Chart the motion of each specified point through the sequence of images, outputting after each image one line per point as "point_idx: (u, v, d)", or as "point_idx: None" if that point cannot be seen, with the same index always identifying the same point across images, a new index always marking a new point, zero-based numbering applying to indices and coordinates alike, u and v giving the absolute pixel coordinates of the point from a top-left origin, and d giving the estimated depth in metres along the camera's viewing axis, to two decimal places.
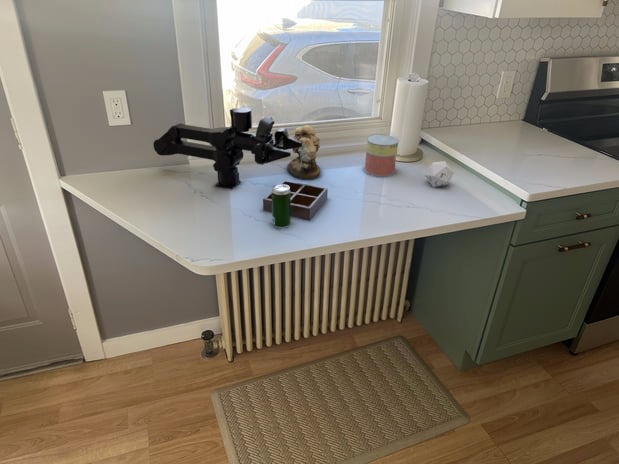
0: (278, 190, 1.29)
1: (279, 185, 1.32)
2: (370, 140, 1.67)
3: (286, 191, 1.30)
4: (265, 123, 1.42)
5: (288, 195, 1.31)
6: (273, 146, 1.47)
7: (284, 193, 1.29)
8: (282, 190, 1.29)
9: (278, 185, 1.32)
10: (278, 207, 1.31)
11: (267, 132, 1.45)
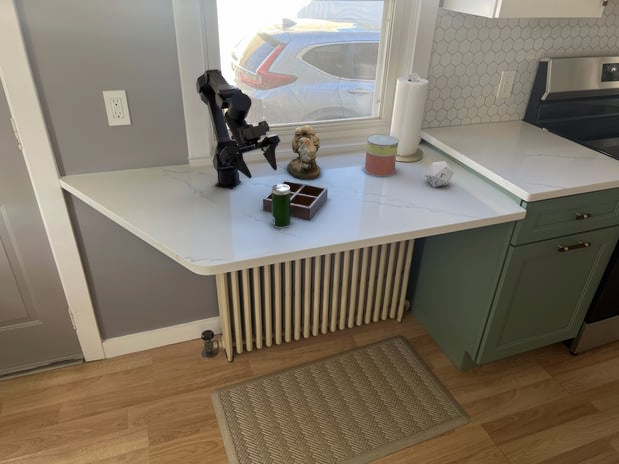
0: (278, 190, 1.29)
1: (279, 185, 1.32)
2: (370, 140, 1.67)
3: (286, 191, 1.30)
4: (253, 133, 1.29)
5: (288, 195, 1.31)
6: (250, 150, 1.36)
7: (284, 193, 1.29)
8: (282, 190, 1.29)
9: (278, 185, 1.32)
10: (278, 207, 1.31)
11: None
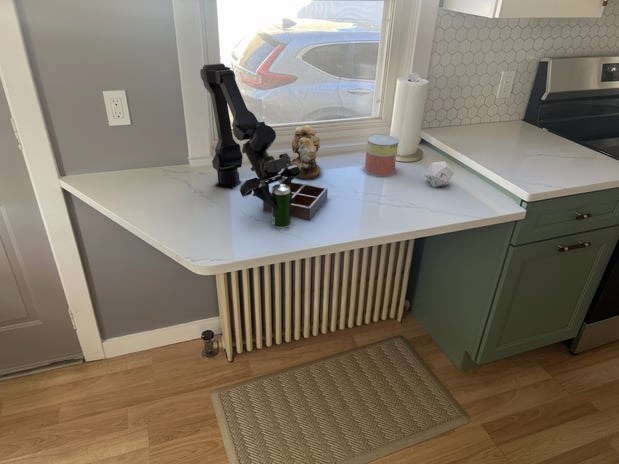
0: (278, 190, 1.29)
1: (279, 185, 1.32)
2: (370, 140, 1.67)
3: (286, 191, 1.30)
4: (274, 167, 1.26)
5: (288, 195, 1.31)
6: (266, 184, 1.32)
7: (284, 193, 1.29)
8: (282, 190, 1.29)
9: (278, 185, 1.32)
10: (278, 207, 1.31)
11: None
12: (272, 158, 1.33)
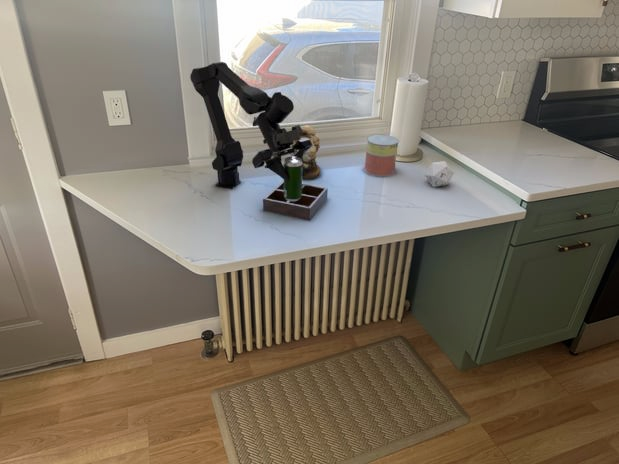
0: (290, 162, 1.30)
1: (291, 157, 1.33)
2: (370, 140, 1.67)
3: (298, 163, 1.30)
4: (287, 138, 1.27)
5: (300, 167, 1.31)
6: None
7: (296, 165, 1.30)
8: (294, 162, 1.30)
9: (290, 157, 1.33)
10: (290, 179, 1.32)
11: None
12: (284, 130, 1.33)
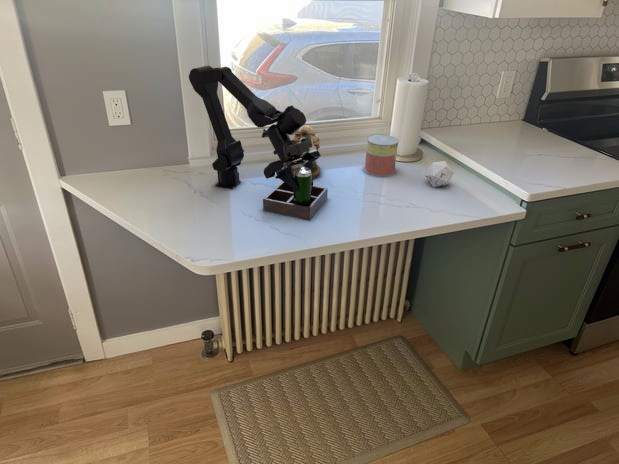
0: (300, 172, 1.36)
1: (301, 168, 1.38)
2: (370, 140, 1.67)
3: (308, 173, 1.36)
4: (297, 150, 1.32)
5: (310, 177, 1.37)
6: (288, 167, 1.39)
7: (306, 175, 1.36)
8: (304, 172, 1.36)
9: (300, 168, 1.38)
10: (299, 188, 1.37)
11: None
12: (294, 142, 1.39)
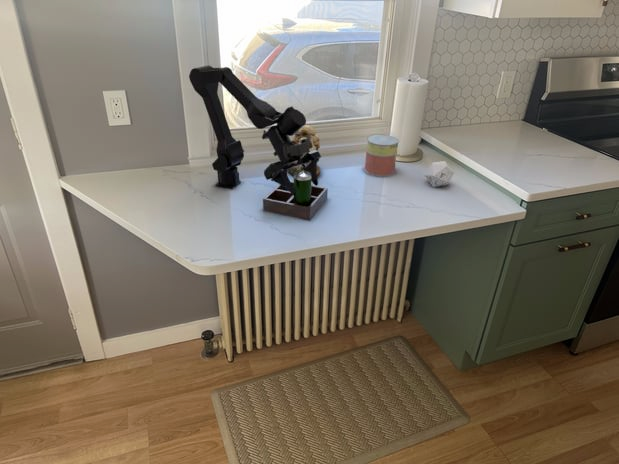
0: (300, 176, 1.36)
1: (301, 171, 1.39)
2: (370, 140, 1.67)
3: (308, 177, 1.36)
4: (298, 151, 1.33)
5: (309, 181, 1.37)
6: (293, 166, 1.40)
7: (306, 179, 1.36)
8: (304, 176, 1.36)
9: (300, 171, 1.39)
10: (299, 192, 1.38)
11: None
12: (294, 143, 1.39)
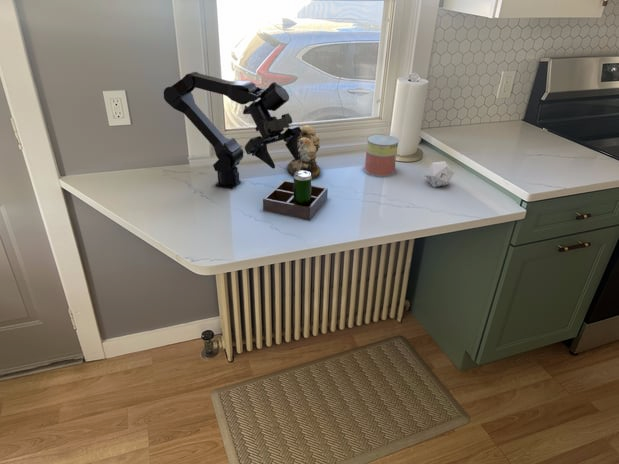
0: (300, 176, 1.36)
1: (301, 171, 1.39)
2: (370, 140, 1.67)
3: (308, 177, 1.36)
4: (277, 126, 1.36)
5: (309, 181, 1.37)
6: None
7: (306, 179, 1.36)
8: (304, 176, 1.36)
9: (300, 171, 1.39)
10: (299, 192, 1.38)
11: None
12: (275, 118, 1.42)
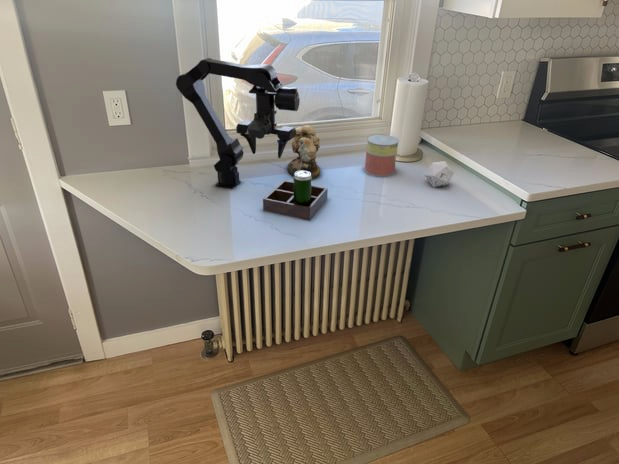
0: (300, 176, 1.36)
1: (301, 171, 1.39)
2: (370, 140, 1.67)
3: (308, 177, 1.36)
4: (248, 133, 1.42)
5: (309, 181, 1.37)
6: None
7: (306, 179, 1.36)
8: (304, 176, 1.36)
9: (300, 171, 1.39)
10: (299, 192, 1.38)
11: None
12: (266, 117, 1.42)
